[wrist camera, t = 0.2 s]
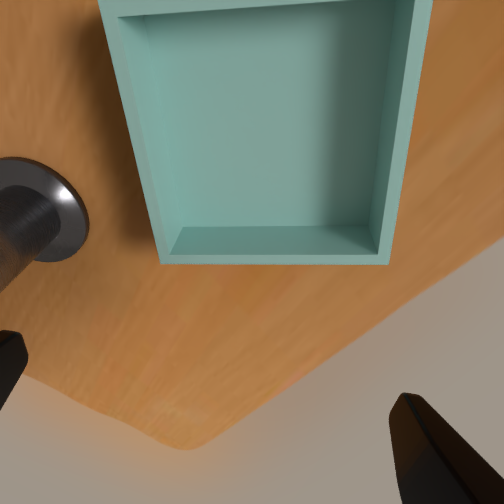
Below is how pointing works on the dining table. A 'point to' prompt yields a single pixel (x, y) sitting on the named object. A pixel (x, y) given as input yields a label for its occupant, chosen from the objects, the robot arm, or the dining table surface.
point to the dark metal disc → (58, 194)
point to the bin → (269, 123)
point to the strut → (24, 229)
